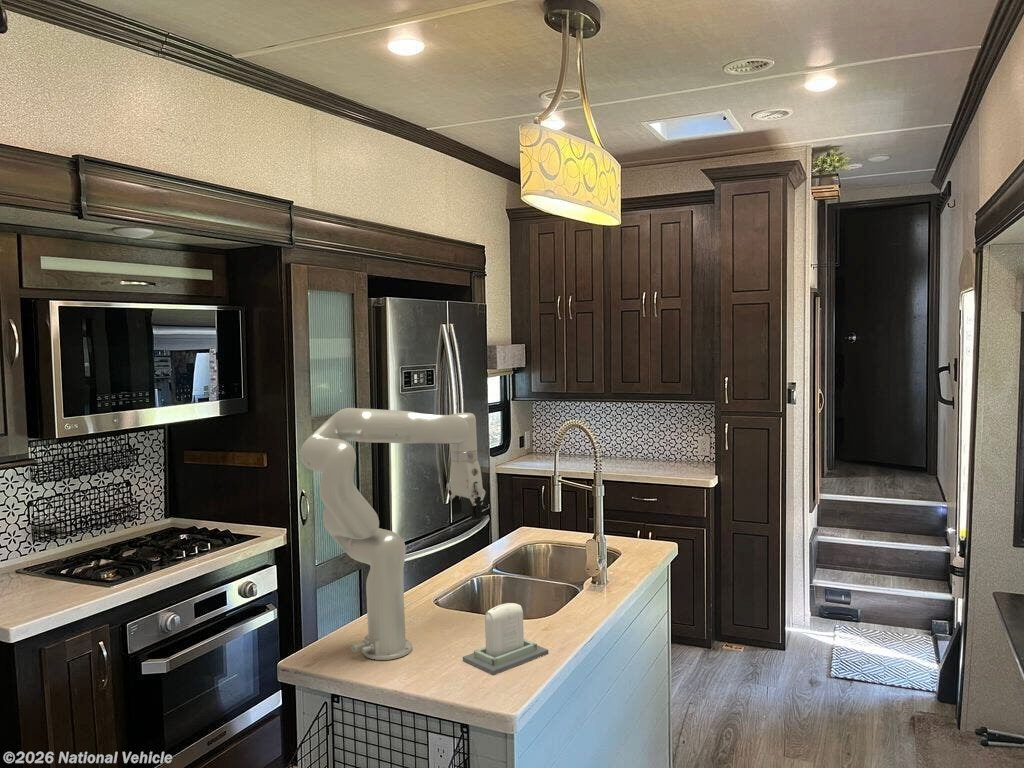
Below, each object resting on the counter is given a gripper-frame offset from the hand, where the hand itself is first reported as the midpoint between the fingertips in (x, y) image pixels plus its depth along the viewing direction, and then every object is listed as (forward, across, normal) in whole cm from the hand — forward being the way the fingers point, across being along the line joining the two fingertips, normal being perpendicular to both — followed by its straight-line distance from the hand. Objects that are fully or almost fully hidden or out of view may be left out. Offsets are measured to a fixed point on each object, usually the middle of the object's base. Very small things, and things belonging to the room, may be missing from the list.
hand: (466, 516), depth 222 cm
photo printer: (+29, -28, +10) cm, 41 cm away
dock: (+30, -28, +10) cm, 42 cm away
